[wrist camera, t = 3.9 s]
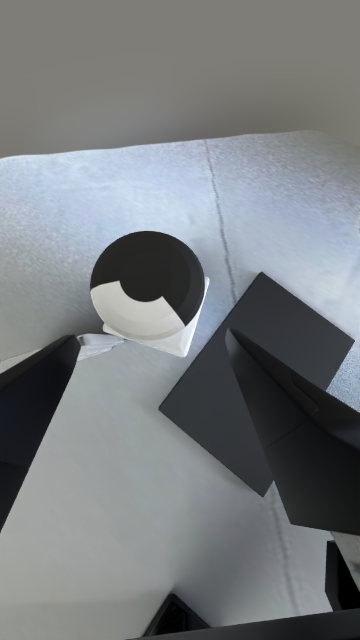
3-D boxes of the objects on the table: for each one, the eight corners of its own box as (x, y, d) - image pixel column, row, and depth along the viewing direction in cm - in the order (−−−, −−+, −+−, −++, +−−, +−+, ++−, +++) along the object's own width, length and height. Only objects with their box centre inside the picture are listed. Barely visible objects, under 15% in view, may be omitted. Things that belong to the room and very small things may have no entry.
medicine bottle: (147, 283, 19) (103, 192, 7) (198, 299, 19) (236, 235, 7) (128, 333, 18) (42, 324, 6) (181, 351, 18) (194, 374, 6)
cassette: (28, 379, 17) (-88, 410, 10) (25, 363, 17) (-91, 383, 10) (127, 345, 18) (92, 350, 10) (122, 331, 18) (86, 326, 11)
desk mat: (260, 492, 16) (263, 498, 16) (158, 407, 17) (158, 409, 17) (349, 340, 19) (355, 340, 19) (259, 273, 20) (261, 271, 19)
